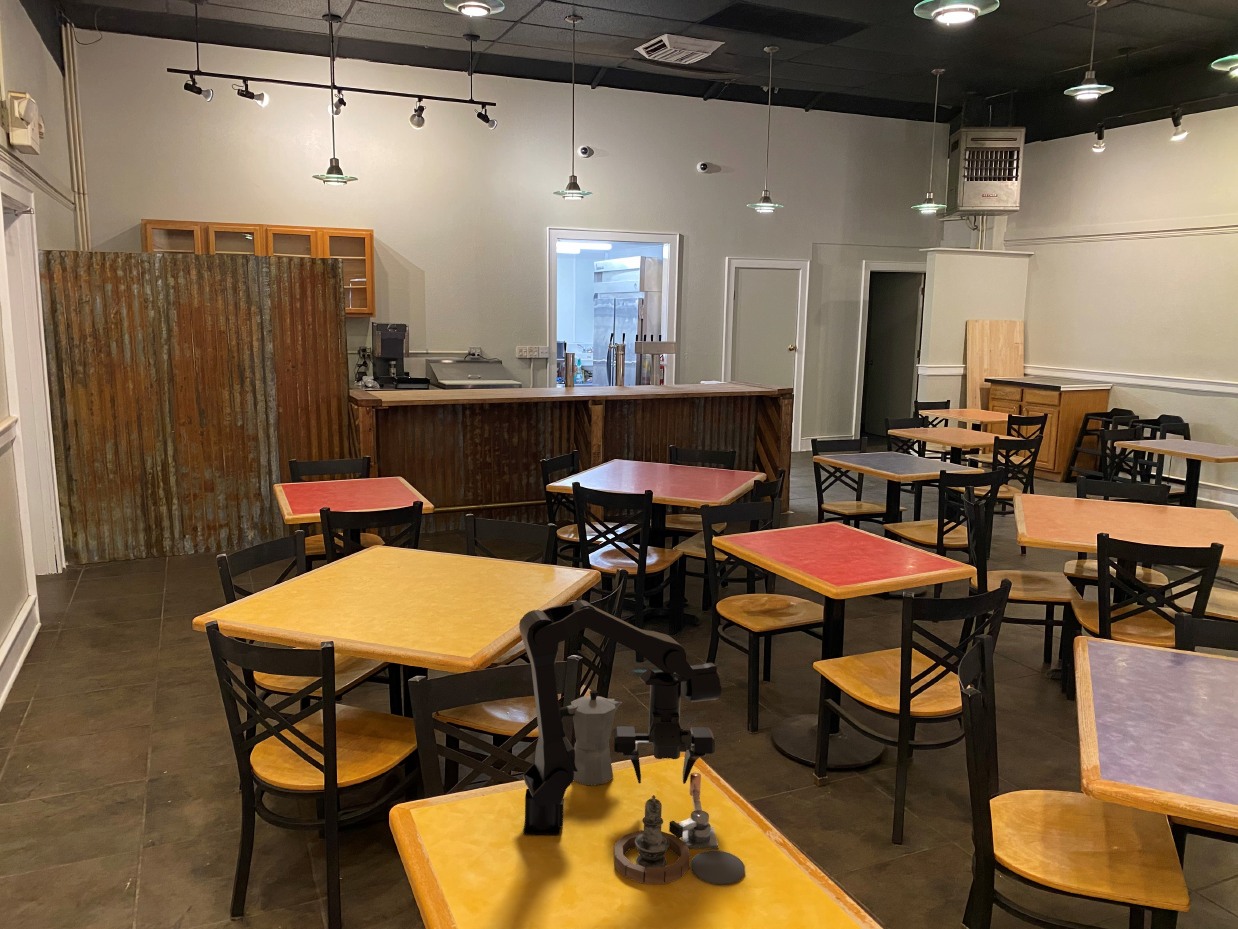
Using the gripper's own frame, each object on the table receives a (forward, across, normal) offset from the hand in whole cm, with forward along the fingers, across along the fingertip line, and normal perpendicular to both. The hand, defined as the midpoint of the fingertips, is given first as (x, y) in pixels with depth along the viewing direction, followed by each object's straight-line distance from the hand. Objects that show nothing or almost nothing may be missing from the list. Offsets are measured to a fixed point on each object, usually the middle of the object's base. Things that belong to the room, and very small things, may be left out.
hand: (661, 782), depth 164 cm
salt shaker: (+5, -3, -18) cm, 19 cm away
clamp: (+2, +4, -7) cm, 9 cm away
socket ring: (+5, -3, -18) cm, 19 cm away
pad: (+5, +8, -20) cm, 22 cm away
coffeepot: (+5, -14, +12) cm, 20 cm away
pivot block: (+5, +6, -11) cm, 13 cm away
